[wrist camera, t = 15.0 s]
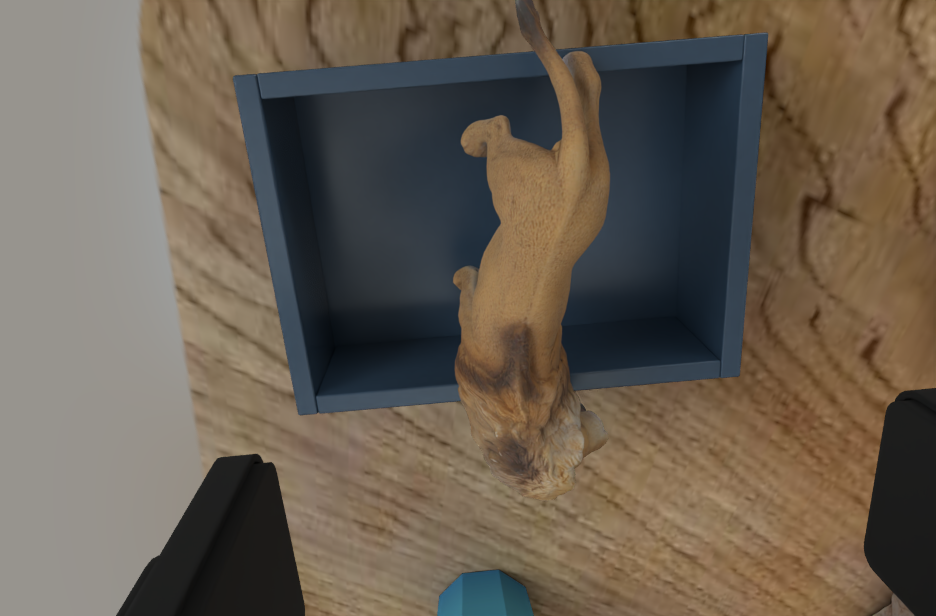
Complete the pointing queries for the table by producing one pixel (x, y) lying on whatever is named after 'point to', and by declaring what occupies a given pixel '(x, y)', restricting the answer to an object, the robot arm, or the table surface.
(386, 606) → the table surface
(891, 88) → the table surface
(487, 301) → the lion figurine
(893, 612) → the stone
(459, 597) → the cup
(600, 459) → the table surface
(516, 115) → the dark blue storage bin
